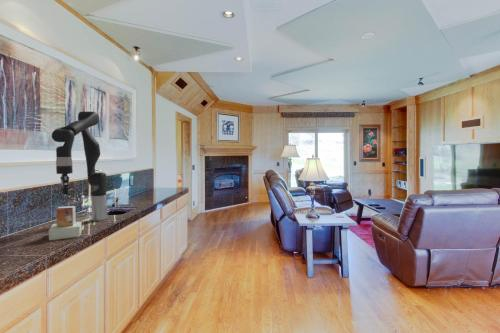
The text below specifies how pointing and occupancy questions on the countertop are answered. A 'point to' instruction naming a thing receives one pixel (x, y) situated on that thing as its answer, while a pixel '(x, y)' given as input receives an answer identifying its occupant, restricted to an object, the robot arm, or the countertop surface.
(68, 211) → the small box
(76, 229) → the block
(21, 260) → the countertop surface
